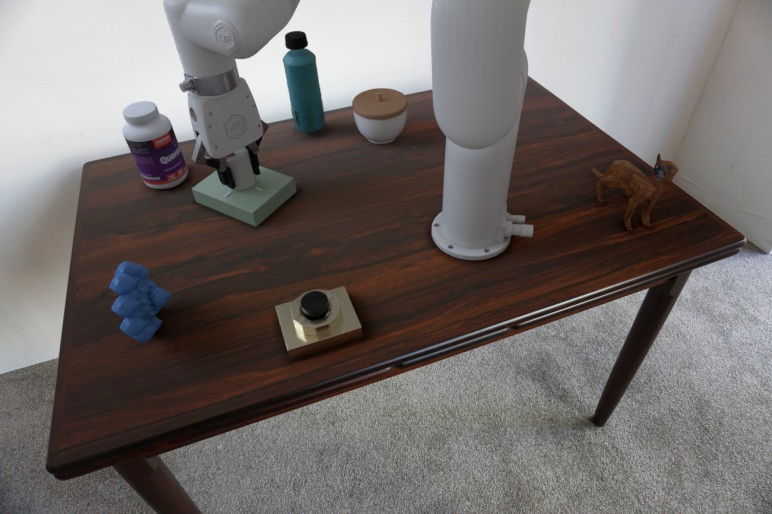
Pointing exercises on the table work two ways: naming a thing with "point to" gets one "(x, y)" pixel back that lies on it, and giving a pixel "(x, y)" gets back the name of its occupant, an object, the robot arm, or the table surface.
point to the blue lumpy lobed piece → (137, 301)
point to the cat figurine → (636, 185)
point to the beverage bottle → (303, 83)
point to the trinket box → (380, 114)
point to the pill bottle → (153, 145)
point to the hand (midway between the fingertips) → (241, 177)
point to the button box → (318, 324)
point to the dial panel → (246, 196)
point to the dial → (241, 169)
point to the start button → (315, 305)
